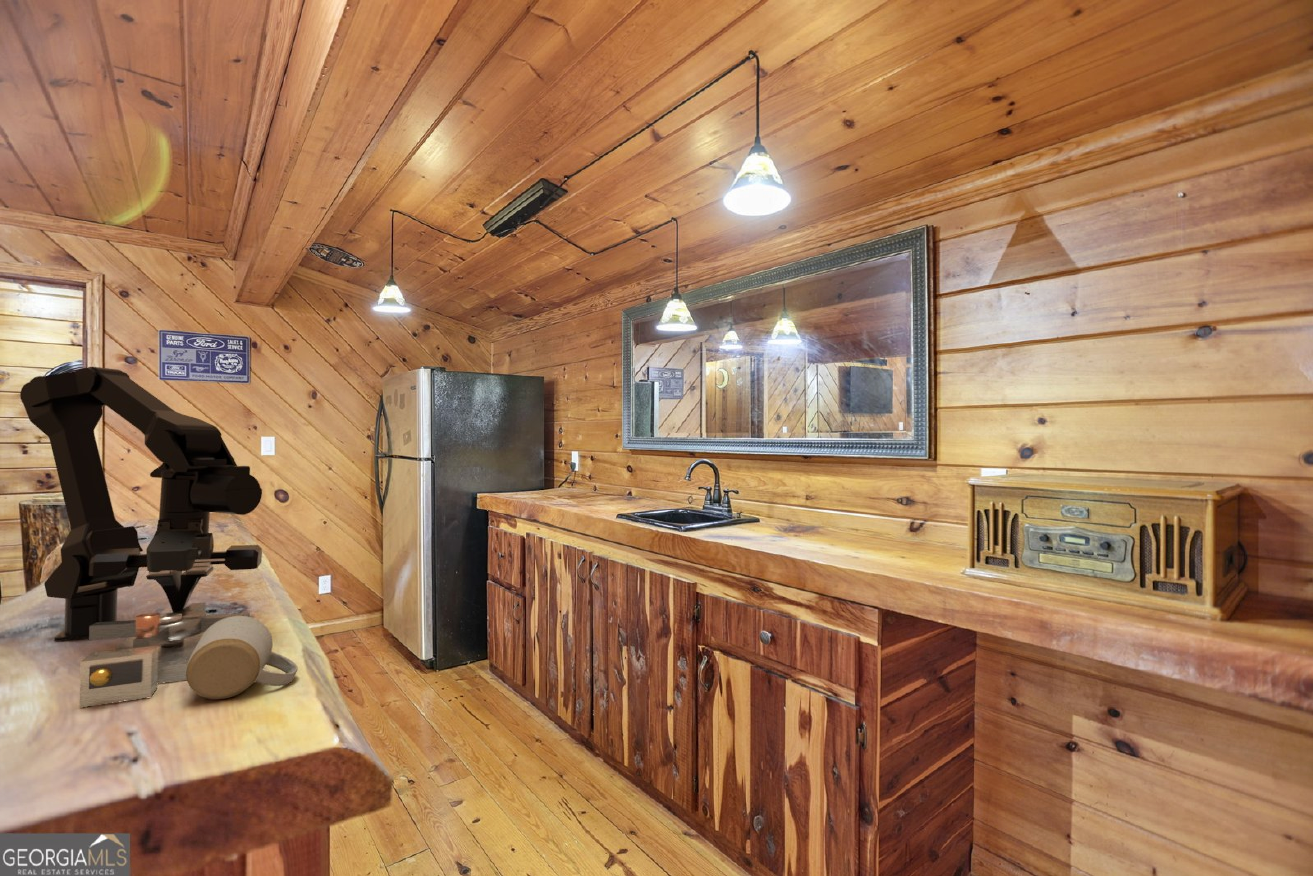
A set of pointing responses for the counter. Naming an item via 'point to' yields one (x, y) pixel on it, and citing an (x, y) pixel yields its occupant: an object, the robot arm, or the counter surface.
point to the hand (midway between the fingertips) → (178, 620)
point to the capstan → (159, 626)
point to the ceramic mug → (235, 659)
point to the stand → (133, 670)
